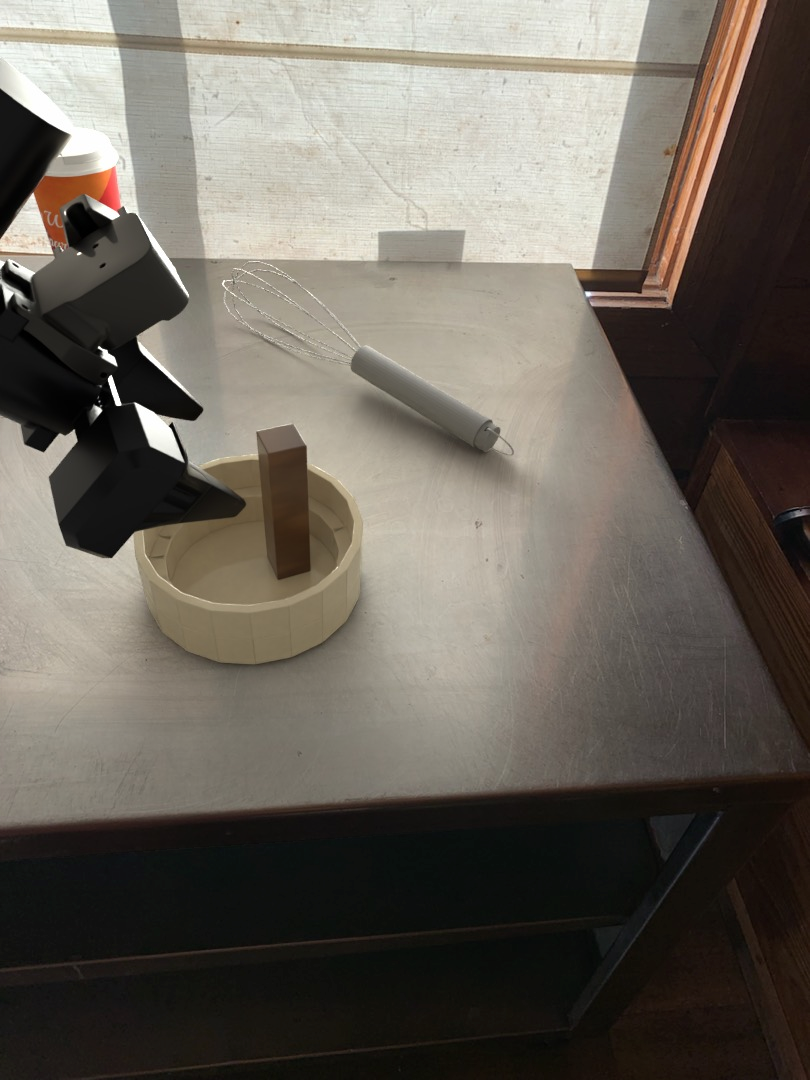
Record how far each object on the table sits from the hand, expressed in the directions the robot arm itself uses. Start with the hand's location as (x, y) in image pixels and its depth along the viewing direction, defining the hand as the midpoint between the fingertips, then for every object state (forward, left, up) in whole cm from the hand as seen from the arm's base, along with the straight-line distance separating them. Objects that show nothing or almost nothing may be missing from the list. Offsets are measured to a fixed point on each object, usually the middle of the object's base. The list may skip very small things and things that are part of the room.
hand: (218, 458), depth 46 cm
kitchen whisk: (+14, +23, -11) cm, 29 cm away
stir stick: (+4, +1, -10) cm, 11 cm away
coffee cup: (-8, +41, -11) cm, 43 cm away
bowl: (+1, 0, -11) cm, 11 cm away
